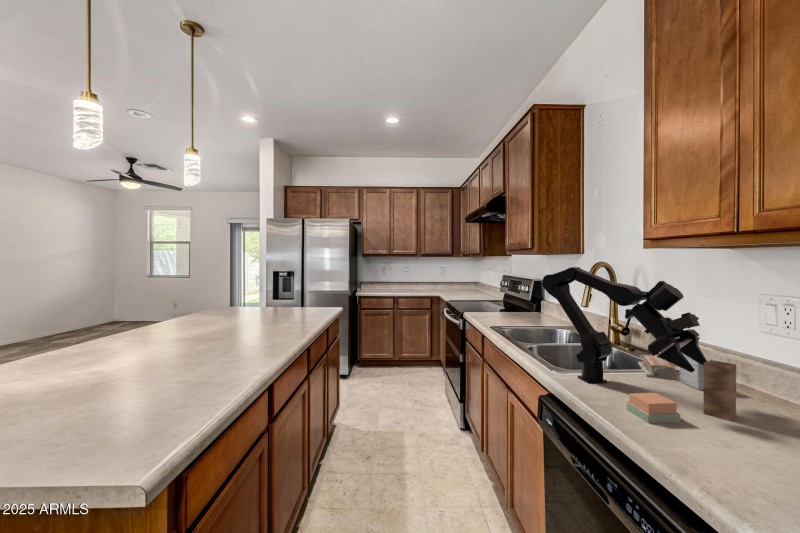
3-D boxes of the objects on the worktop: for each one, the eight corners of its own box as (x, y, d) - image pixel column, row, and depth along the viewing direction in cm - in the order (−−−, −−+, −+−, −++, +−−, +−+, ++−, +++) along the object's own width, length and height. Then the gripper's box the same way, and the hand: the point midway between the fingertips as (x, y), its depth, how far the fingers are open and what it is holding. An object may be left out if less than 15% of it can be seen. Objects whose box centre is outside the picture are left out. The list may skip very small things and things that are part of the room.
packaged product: (682, 367, 120) (646, 363, 125) (682, 382, 121) (646, 378, 125) (669, 354, 137) (637, 351, 141) (669, 367, 137) (637, 364, 141)
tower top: (629, 403, 97) (629, 393, 97) (655, 402, 97) (655, 392, 97) (648, 414, 90) (648, 403, 90) (676, 413, 90) (676, 402, 90)
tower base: (626, 411, 97) (626, 402, 97) (656, 411, 98) (656, 401, 98) (647, 425, 89) (647, 415, 89) (680, 424, 90) (680, 414, 90)
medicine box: (713, 390, 111) (713, 361, 111) (698, 390, 111) (698, 361, 111) (693, 381, 119) (693, 355, 119) (679, 381, 119) (679, 355, 119)
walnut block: (703, 413, 94) (703, 362, 94) (711, 409, 97) (711, 360, 97) (728, 420, 90) (728, 367, 90) (736, 415, 93) (736, 364, 93)
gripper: (660, 305, 96) (713, 356, 87) (690, 301, 106) (741, 346, 97) (628, 331, 103) (675, 381, 94) (659, 324, 113) (704, 369, 104)
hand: (700, 368), depth 97 cm, fingers open, 9 cm apart
